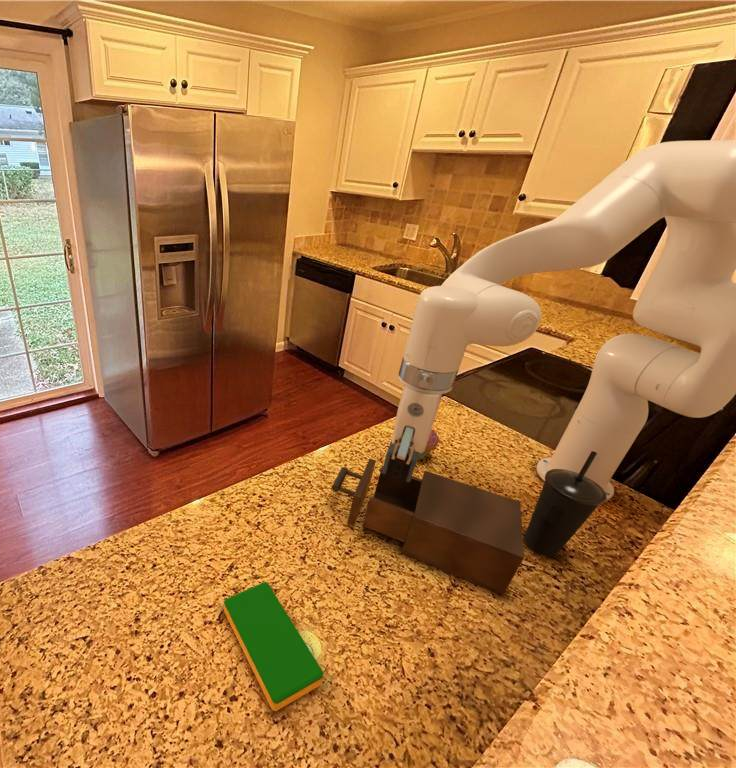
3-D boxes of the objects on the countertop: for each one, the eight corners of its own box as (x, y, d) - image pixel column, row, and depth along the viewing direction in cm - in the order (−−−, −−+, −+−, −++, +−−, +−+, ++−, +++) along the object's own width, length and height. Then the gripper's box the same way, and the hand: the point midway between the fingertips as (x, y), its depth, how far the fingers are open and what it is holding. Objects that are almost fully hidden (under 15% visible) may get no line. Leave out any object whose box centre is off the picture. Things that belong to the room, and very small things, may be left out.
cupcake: (438, 453, 92) (454, 407, 86) (424, 471, 86) (440, 424, 80) (400, 437, 97) (413, 393, 91) (385, 453, 91) (397, 407, 86)
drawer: (323, 514, 74) (328, 485, 71) (341, 477, 83) (347, 450, 79) (429, 557, 66) (441, 528, 63) (437, 512, 75) (448, 484, 72)
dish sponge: (265, 590, 62) (266, 580, 61) (322, 684, 51) (325, 674, 50) (222, 609, 59) (223, 599, 58) (273, 713, 48) (274, 703, 47)
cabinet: (401, 553, 68) (413, 516, 64) (413, 505, 78) (424, 470, 74) (502, 595, 62) (524, 557, 58) (502, 537, 71) (520, 501, 67)
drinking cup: (577, 568, 66) (641, 473, 57) (525, 559, 68) (579, 465, 58) (554, 531, 73) (608, 440, 63) (507, 524, 74) (552, 434, 64)
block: (386, 458, 72) (392, 437, 70) (414, 467, 70) (420, 446, 68) (381, 472, 68) (387, 451, 66) (409, 482, 66) (416, 460, 64)
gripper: (450, 406, 52) (414, 510, 61) (459, 358, 65) (428, 450, 74) (389, 390, 55) (363, 491, 64) (409, 347, 68) (385, 436, 77)
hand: (398, 468), depth 69 cm, fingers closed on block, 4 cm apart
